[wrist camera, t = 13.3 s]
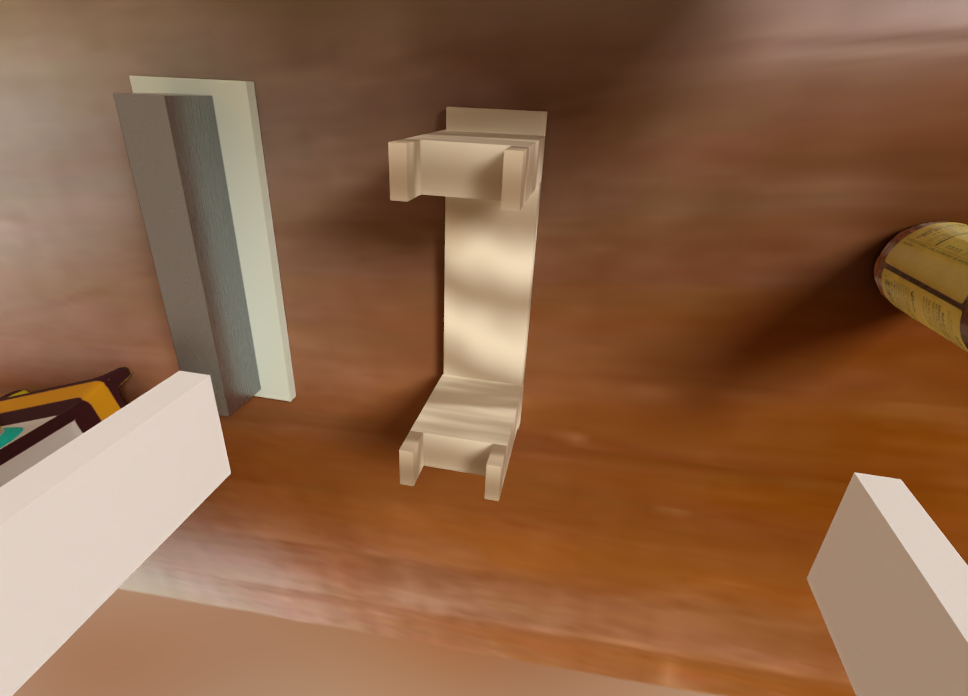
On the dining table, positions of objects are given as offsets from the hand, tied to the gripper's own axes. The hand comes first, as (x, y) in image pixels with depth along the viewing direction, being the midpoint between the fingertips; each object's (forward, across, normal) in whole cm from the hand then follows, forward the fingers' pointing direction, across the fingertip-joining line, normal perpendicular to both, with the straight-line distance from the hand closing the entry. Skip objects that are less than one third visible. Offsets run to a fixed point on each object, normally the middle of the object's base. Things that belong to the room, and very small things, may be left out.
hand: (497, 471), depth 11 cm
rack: (+32, -6, -7) cm, 33 cm away
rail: (+31, -30, -7) cm, 44 cm away
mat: (+32, -30, -7) cm, 44 cm away
